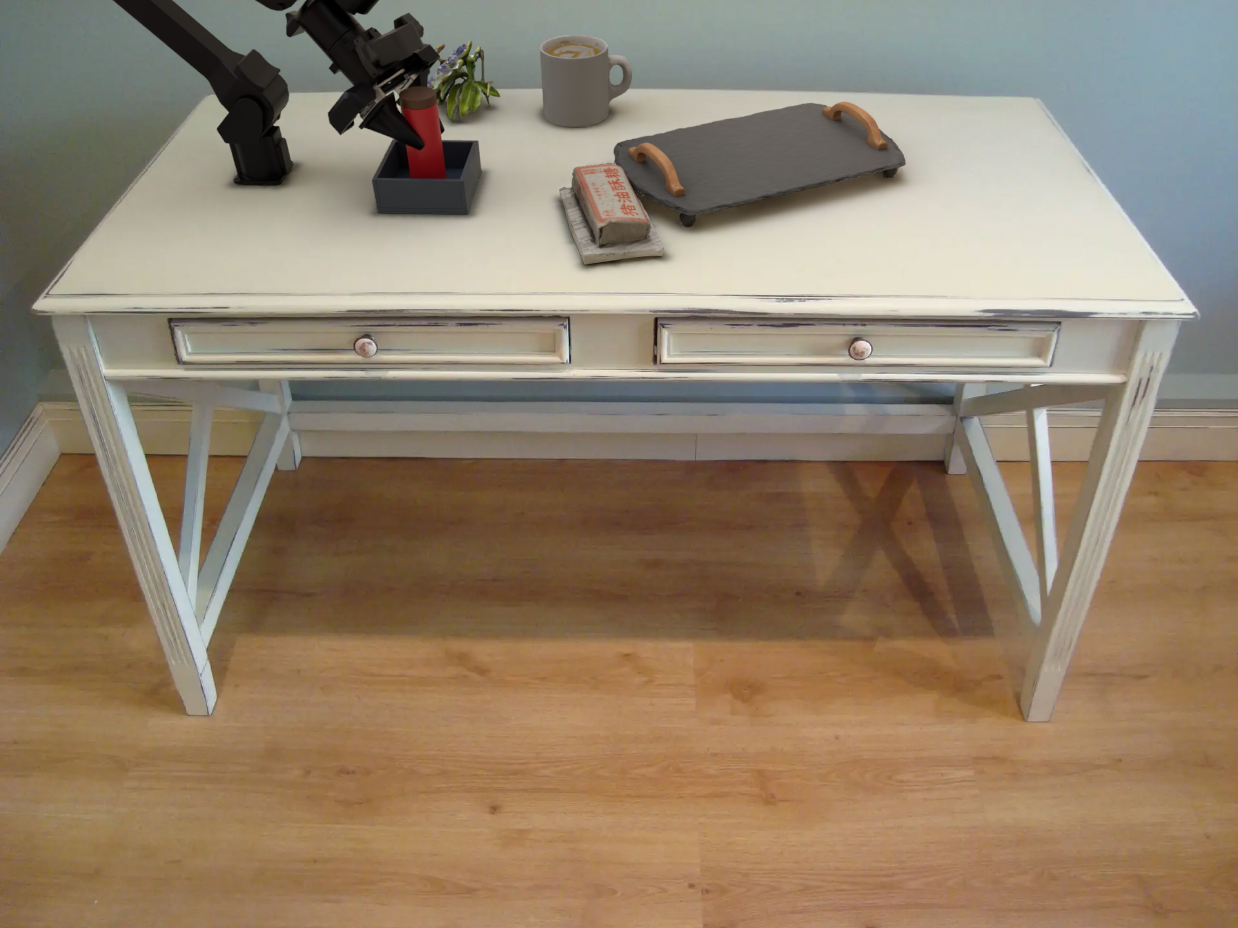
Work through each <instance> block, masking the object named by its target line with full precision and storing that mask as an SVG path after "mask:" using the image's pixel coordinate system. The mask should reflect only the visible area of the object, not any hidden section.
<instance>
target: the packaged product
mask: <svg viewBox="0 0 1238 928" xmlns="http://www.w3.org/2000/svg"><path fill="white" fill-rule="evenodd" d="M571 173H572V174H571V175H572V176H571V186H570V187H565V186H563V187H560V188H559V189H558V192H559V197H560V200H561V202H562V205H563V208H564V211H565V216H566V220H567V223H568V227H569V230H570V233H571V236H572V238H573V241H574V243H575V245H576V248H577V250H578V253H579V254H580V257H581V260H582V262H583V264H584V265H590V264H597V263H603V262H610V261H619V260H627V259H632V258H639V257H659V256H660V257H663V256H664V251H665V247H664V246H663V244H662V241H661V239H660V237H659V235H658V234H657V231H656V229H655V227H654V225H653V223H652V221H651V219H650V217H649V215H648V212H647V211H646V210H645V209H644V205H643V203H642V201H641V199H640V197H639V195H638V193H637V191H636V190H635V189H634V188H633V187H632V186H631V184H630V182H629V180H628V178H627V176H626V174H625V172H624V170H623V168H622V167H620V166H618V165H616V164H615V163H614V164H613V162H612V163H611V162H607V163H600V164H588V165H582V166H576V167H573V170H572V172H571Z"/></svg>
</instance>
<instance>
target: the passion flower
mask: <svg viewBox="0 0 1238 928" xmlns="http://www.w3.org/2000/svg"><path fill="white" fill-rule="evenodd" d="M472 46H473V40H468V42H467V44H466V43H463V44H462V45H459V46H458V47H457V49H456V50H453V52H452V54H451V55H449V56H448V58H447V59H442V58H441V57H440V58H439V59H438V60H437V61H438V62H439V67H438V68H437V69H436V72H435V73H434V74H433V75H432V76H431V77H430V78H429V79H428V87H429V88H432V89H434V90H435V91H436V97H437V104H439V105H442V104H443V103H445V102H446V109H447V110H446V112H447V115H448V116H447V117H448V118H449V119H451V120H452V122H453V123H456V113H457V110H459V111H458V112H459V118H461V119H464V118H465V117H466V116H467V115H468V114H469V113H470V112H471V113H474V112H476V110H478V109H479V107H480V106H481V104H482V101H483V97H485V100H486V103H487V105H488V108H491V103H490V97H496V98H500V97H501V94H500V92H499V91H498V90H497V88H495V87H494V86H493V85H492V84H494V81H493V80H491V81H489V80H488V81H485V50H483V48H482V46H481V45H477V47H476V49H475V50H474V51H473V52H474V53H473V54H470V52H471V50H472ZM445 47H446V44H445V43H443V44H441V45H438V46H437V48H434V50H435V51H436V52H437V53H438V54H439V55H440V53H441V52H442V51H443V50H444V49H445ZM479 59H480V60H481V64H480V65H481V79H480V80H477V79H476V78H475V73H476V68H477V67H476V66H477V65H476V63H477V62H478V60H479ZM464 67H465V68H466V70H465V69H464ZM458 79H462V80H463V81H462V82H457V83H456V81H457V80H458ZM458 108H459V109H458Z"/></svg>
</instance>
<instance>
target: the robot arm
mask: <svg viewBox="0 0 1238 928" xmlns="http://www.w3.org/2000/svg"><path fill="white" fill-rule="evenodd" d="M254 1H255V2H257V3H259V4H260V5H262V6H264V7H265V8H267V9H268V10H271V11H275V12H283V11H285V10H288V9H290V8H292V7H293V6H294V5H295V4H296V2H298V1H299V0H254ZM379 1H380V0H305V1H304V2H303V3H302V5H301V6H300V7H299V8H298V9H297V10H291V11H288V12H286V13H285V14H284V16H285V19H286V23H285V24H286V25H285V35H286V37H288V38H293V37H295V36H299V35H301V34H303V33H306V34H307V35H308V37H309V38H310V39H311V40H312V41H313V42H314V43H315V44H316V45H317V46H318V48H319V49H320V50H321V51H322V52H323V54H325V56H326V57H327V58H328V59H329V60H330V61H331V64H330V66H329V67H328V69H329V71H330V72H331V73H332V74H333V75H337V74H338V73H340V72H341V74H343V76H344V77H345V78H346V79H347V80H348V81H349V82H350V84H351V85H352V86H351V87H350V88H348V89H346V90H345V91H343V93H342V94H341V95H340V96H339V98H338V99H337V100H336V102H335V103H334V104H333V105H332V107H331V108H330V109H329V111H328V112H327V118H328V123H329V124H330V126H331V127H332V128H333V129H334V130H335V131H336V132H337V133H338V135H339V136H342V135H344V133H346V132H348V131H349V130H350V129H353V127H354V126H355V119H356V118H357V117H358V115H359V118H360V119H361V120H362V121H361V122H360V124H359V125H358V126H357V127H358V129H360V130H364V129H366V130H368V131H372V132H375V133H376V134H380V135H383V136H386V137H388V138H390V139H391V140H393V139H395V140H397V141H399V142H402V143H404V144H406V145H408V146H411V147H413V148H415V149H417V150H422V149H423V148H424V147H425V143H424V142H423V141H422V139H421V138H420V136H419V135H418V133H417V132H416V131H415V130H414V128H413V127H412V126H411V125H410V123H409V122H408V121H407V120H406V119H405V117H404V116H403V115H402V114H401V110H399V108H398V106H399V107H400V100H399V97H398V98H397V99H396V96H395V93H396V94H397V95H398V96H399V93H400V92H401V91H402V90H404V89H406V88H410V87H417V86H423V87H429V84H428V81H429V75H430V74H431V68H432V67H433V66H434V65H435V64H436V62H438V61H439V60H438V59H439V58H441V55H440V53H439V54H438V53H437V52H436V51H435V48H434V47H433V46H432V45H431V44H430V43H429V44H428V43H424V42H423V41H422V38H423V37H424V33H425V28H424V26H423V25H422V24H421V23H420V22H419V20H418V19H417V18H416V17H414V16H413V15H412V14H411V12H406V13H405V14H402V15H400V16H399V17H397V18H395V19H394V20H393V29H391V30H389V31H388V32H385V33H384V34H382V33H381V32H380V31H379V30H378V29H377V28H375V27H373V26H371V27H369V28H367V29H365V28H364V26H363V25H362V24H361V23H360V22H359V21H358V20H357V19H356V17H355V16H356V14H359V15H364V16H365V15H368V14H369V13H370V12H371V11H372V10H373V8H374V7H375V6H376V5H377V4H378V3H379ZM112 2H114V3H115V4H116V5H117V6H118V7H119V8H121V9H122V10H123V11H125V12H126V13H127V14H128V15H129V16H130V17H132V18H133V19H134V20H135V21H137V22H138V23H139V24H140V25H141V26H142V27H144V28H145V29H146V30H147V31H148V32H150V33H151V34H152V35H154V37H156V38H157V39H158V40H159V41H161V42H162V43H163V44H164V45H165V46H167V48H169V49H170V50H172V52H174V54H176V55H177V56H179V57H180V58H181V59H182V60H183V61H185V62H186V63H187V64H188V65H189V66H190V67H191V68H193V69H194V70H195V71H197V72H198V73H199V74H200V75H201V76H202V77H204V78H205V79H206V81H207V82H208V83H209V85H210V87H211V89H212V91H213V92H214V95H215V97H216V98H217V100H218V103H220V105H221V106H222V107H223V108H224V109H225V110H226V111H227V112H228V113H227V114H226V115H225V117H224V118H223V119H222V121H220V123H219V125H218V126H217V127H216V132H217V133H218V135H219V136H220V138H221V139H222V141H223V143H225V144H228V146H229V149H230V153H231V156H232V161H233V164H234V167H235V171H236V175H235V176H234V178H233V179H232V181H233V184H236V185H237V184H238V185H280V184H282V183H283V181H284V179H286V176H287V175H288V173H290V171H291V170H292V167H293V165H294V161H293V160H292V159H291V154H290V150H289V146H288V142H287V139H286V137H283V135H282V131H281V127H280V125H275V124H276V123H277V121H279V120H280V119H281V118H282V116H281V115H282V111H283V110H284V109H285V108H286V107H287V105H288V103H289V102H290V101H289V99H290V92H289V87H288V86H289V85H288V83H287V81H286V80H285V78H283V76H282V75H281V74H279V73H280V72H281V69H280V68H279V67H276V66H274V65H273V64H271V63H269V62H268V60H267V59H266V58H265V57H264V56H263V55H262V54H261V53H260V52H259V51H258V50H256V49H255V48H253V49H251V50H250V51H249V52H248V53H247V54H246V55H245V54H242V53H239V52H237V51H234V50H232V49H231V48H229V47H228V46H227V45H226V44H225V43H223V42H222V41H221V40H220V39H219V38H217V37H216V36H215V35H214V34H213V33H212V32H210V31H209V30H208V29H207V28H206V27H205V26H203V25H202V24H201V23H200V22H199V21H197V20H196V18H194V17H193V16H192V15H190V14H189V13H188V12H187V11H186V10H185V9H183V8H182V6H180V5H179V4H178V3H177V2H175V1H174V0H112ZM394 91H395V92H394ZM439 121H440V129H441V135H442V134H443V133H444V132H445V127H444V125H443V122H442V120H441V118H440V117H439Z"/></svg>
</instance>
